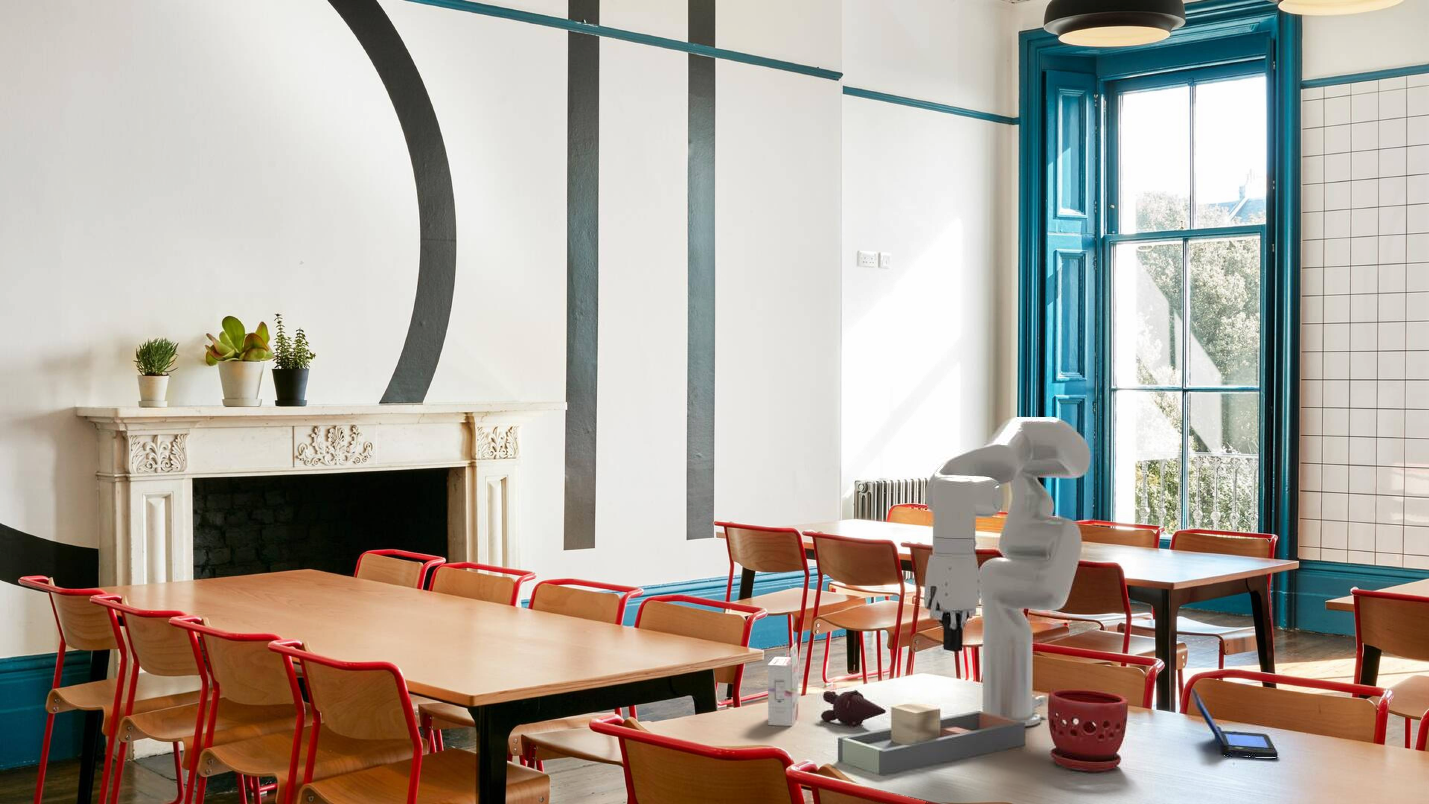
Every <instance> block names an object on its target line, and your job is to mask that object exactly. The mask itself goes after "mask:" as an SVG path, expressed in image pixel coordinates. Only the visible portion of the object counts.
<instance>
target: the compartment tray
mask: <svg viewBox="0 0 1429 804" xmlns="http://www.w3.org/2000/svg"><path fill="white" fill-rule="evenodd" d="M1022 746H1026V726H1025V722H1021V721H1017V720H1012V719H1008V718H1004V717H1000V716H996V715H992V714H988V713H984V712H980V711H977V710H975V711H971V712H966V713H960V714H955V715H950V716H945V717H940V738H936V739H931V740H926V741H921V742H916V743H911V744H906V745H903V744H899V743H896V742H892V741H891V727H887V728H882V729H877V730H872V731H866V732H861V733H860V732H859V733H856V734H850V735H845V736H839V737H837V761H838V762H839V763H842V764H846V765H849V766H851V767H854V768H855V767H856V768H859V769H861V770H865V771H868V772H871V773H874V774H877V775H881V776H884V777H885V776H890V775H893V774H899V773H903V772H909V771H911V770H916V769H922V768H925V767H929V766H930V767H931V766H934V765H939V764H944V763H949V762H953V761H957V760H962V759H967V758H970V757H972V758H973V757H976V756H981V755H984V754H989V753H993V752H998V751H1003V750H1007V749H1011V748H1017V747H1022Z"/></svg>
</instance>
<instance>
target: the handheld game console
mask: <svg viewBox="0 0 1429 804" xmlns="http://www.w3.org/2000/svg"><path fill="white" fill-rule="evenodd" d="M1190 692H1191V694H1192V697H1193V699H1194V703H1195V705H1196V707H1197V708H1198V711H1199V712H1200V714H1201V716H1202V717H1203V719H1204V720H1205V722H1206V724H1207V725H1208V727H1209V729H1210V730H1211V731H1212V733H1213V736H1214V739H1216V742H1217V744H1218V743H1219V744H1218V746H1219V749H1220V754H1221V756H1223V755H1225V756H1224V757H1233V756H1248V757H1249V756H1250V757H1277V756H1278V755H1279V752H1278V751H1277V749H1276V747H1275V746H1274V744H1273V741H1272V740H1271V739H1270V736H1269V735H1268V734H1267V733H1261V732H1245V731H1236V730H1235V731H1233V730H1232V731H1231V730H1230V731H1229V730H1222V729H1221V727H1220V726H1217V724H1216V722H1215V721H1214V719H1213V718H1212V716H1211V715H1210V713H1209V711H1208V710H1207V708H1206V707H1205V704H1204V703H1203V702H1202V700H1201V698H1200V697H1199V695H1198V694H1197V692H1196V690H1195V688H1191V691H1190ZM1227 755H1228V756H1227ZM1277 758H1278V757H1277Z"/></svg>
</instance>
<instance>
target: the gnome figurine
mask: <svg viewBox="0 0 1429 804" xmlns="http://www.w3.org/2000/svg"><path fill="white" fill-rule="evenodd" d="M822 699H823V701H824V702H826V703H828V704H831V705H832V709H827V710H824V711H823V712H821V714H820V718H821V719H822V721H826V722H833V721H836V720H838V722H840V723H841V724H843V725H847V726H849V727H850V726H851V727H853V728H855V727H858V726H861V725H862V723H863V722H864V721H866V720H869V719H871V718H875V717H878V716H880V715H883V714H886V712H887V711H886V709H884V708H883V707H881V706H879V705H878V704H876V703H874V702H872V701H870V700H868V699H866V698H865V697H864V695H863V693H861V692H859V691H858V689H857V690H856V689H854V690H851V691H849V690H848V691H844V692H842V693H840V694H837V693H836V691H834V690H833V691H831V690H826V691H824V692H823V694H822Z"/></svg>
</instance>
